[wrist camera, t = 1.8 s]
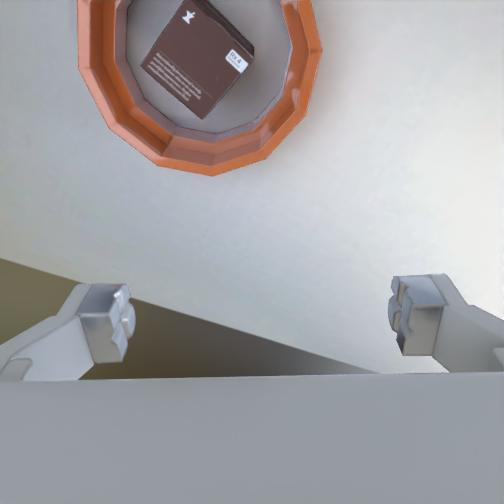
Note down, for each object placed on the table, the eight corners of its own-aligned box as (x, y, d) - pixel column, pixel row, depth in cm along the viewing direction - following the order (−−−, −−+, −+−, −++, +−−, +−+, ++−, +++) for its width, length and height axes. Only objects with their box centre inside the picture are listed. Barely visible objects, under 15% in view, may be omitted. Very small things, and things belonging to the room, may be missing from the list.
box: (158, 53, 37) (136, 64, 31) (201, -7, 34) (187, -9, 28) (212, 102, 39) (202, 122, 33) (257, 48, 36) (255, 59, 30)
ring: (274, -120, 31) (276, -144, 26) (332, 116, 39) (342, 134, 34) (63, -25, 34) (28, -29, 29) (159, 174, 43) (144, 198, 37)
